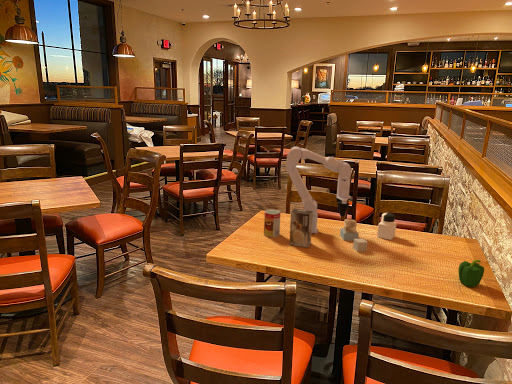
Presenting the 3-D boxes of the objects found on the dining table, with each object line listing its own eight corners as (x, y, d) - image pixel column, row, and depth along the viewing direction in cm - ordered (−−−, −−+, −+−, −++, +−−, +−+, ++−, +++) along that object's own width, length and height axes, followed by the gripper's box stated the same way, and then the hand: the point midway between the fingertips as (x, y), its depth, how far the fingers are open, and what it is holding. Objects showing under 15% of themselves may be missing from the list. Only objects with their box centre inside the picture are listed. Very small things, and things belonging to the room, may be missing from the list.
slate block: (343, 241, 180) (344, 233, 179) (340, 235, 187) (340, 228, 186) (357, 241, 180) (358, 233, 179) (353, 235, 187) (354, 228, 186)
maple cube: (345, 232, 180) (346, 222, 179) (343, 228, 185) (344, 219, 184) (355, 232, 180) (356, 223, 179) (354, 229, 185) (354, 219, 184)
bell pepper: (457, 286, 138) (462, 262, 135) (455, 277, 145) (459, 253, 143) (483, 291, 135) (488, 266, 133) (479, 281, 143) (484, 257, 140)
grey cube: (357, 251, 167) (358, 242, 166) (352, 247, 171) (353, 238, 170) (366, 251, 168) (367, 242, 167) (362, 247, 172) (363, 238, 171)
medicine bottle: (394, 236, 188) (397, 213, 185) (391, 240, 182) (394, 217, 179) (380, 233, 191) (383, 210, 188) (376, 237, 185) (379, 214, 182)
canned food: (269, 230, 190) (270, 208, 187) (282, 234, 186) (283, 211, 183) (260, 234, 184) (261, 211, 181) (273, 238, 180) (274, 215, 177)
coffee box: (311, 243, 175) (313, 210, 171) (308, 248, 170) (310, 214, 166) (292, 240, 179) (294, 208, 175) (288, 244, 173) (290, 211, 169)
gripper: (353, 191, 176) (351, 218, 180) (349, 184, 190) (347, 209, 194) (338, 190, 177) (336, 217, 180) (335, 183, 191) (333, 209, 194)
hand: (341, 213), depth 187 cm, fingers open, 7 cm apart
